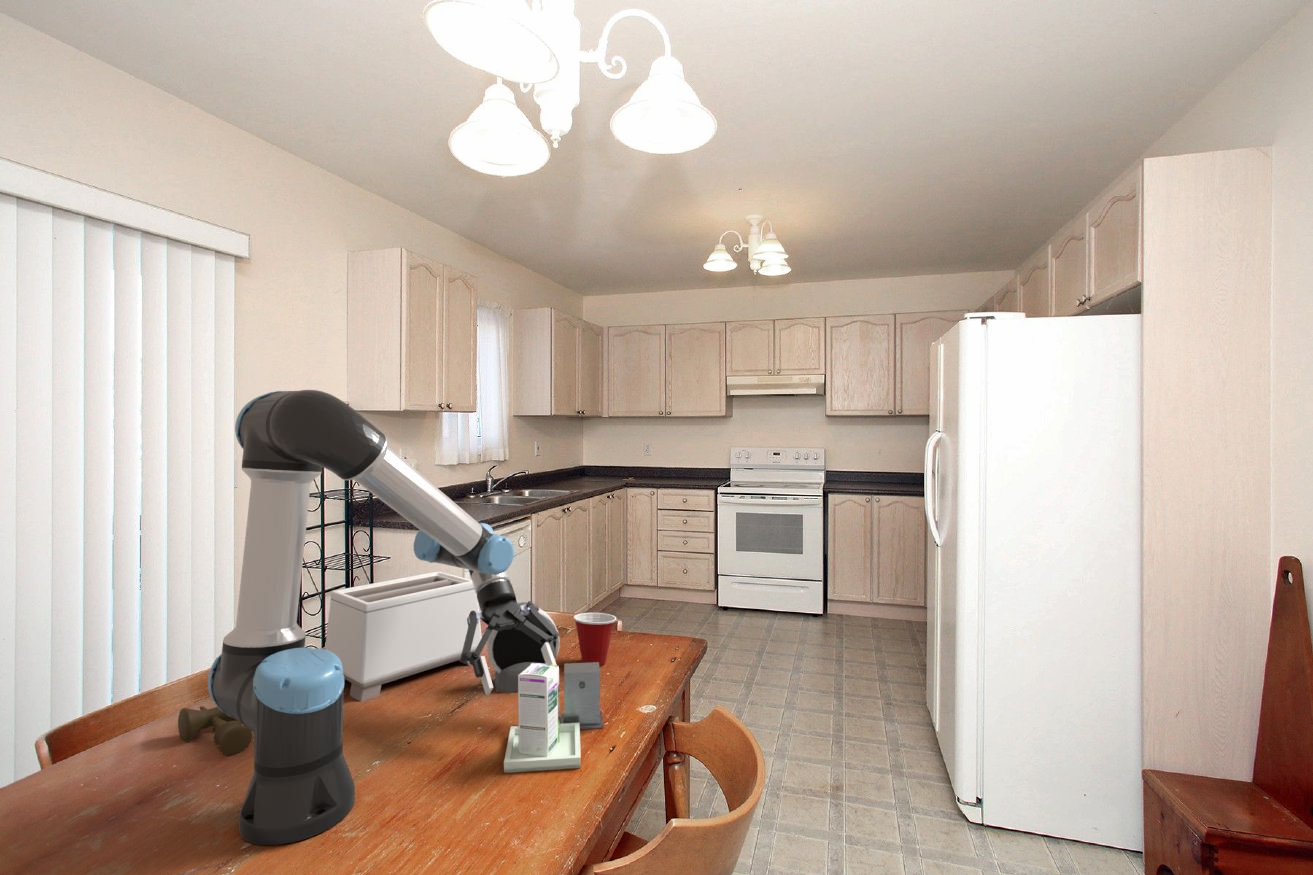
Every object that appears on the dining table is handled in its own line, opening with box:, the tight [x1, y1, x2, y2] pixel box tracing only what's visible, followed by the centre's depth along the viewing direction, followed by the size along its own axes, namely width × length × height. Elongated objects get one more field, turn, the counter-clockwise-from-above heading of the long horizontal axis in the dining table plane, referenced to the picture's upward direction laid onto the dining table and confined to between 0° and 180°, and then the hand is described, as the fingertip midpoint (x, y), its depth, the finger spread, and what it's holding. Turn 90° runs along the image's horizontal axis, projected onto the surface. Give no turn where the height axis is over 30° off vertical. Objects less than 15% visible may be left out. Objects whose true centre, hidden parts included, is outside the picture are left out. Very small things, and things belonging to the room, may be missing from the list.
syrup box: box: [517, 663, 560, 757], centre depth 112 cm, size 6×6×14 cm
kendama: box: [177, 705, 253, 757], centre depth 117 cm, size 6×10×20 cm
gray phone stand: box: [559, 662, 604, 730], centre depth 124 cm, size 8×6×11 cm
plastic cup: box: [573, 612, 617, 668], centre depth 156 cm, size 11×11×12 cm
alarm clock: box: [486, 601, 561, 693], centre depth 143 cm, size 16×10×18 cm, turn 109°
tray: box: [503, 723, 582, 774], centre depth 113 cm, size 13×13×2 cm
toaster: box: [324, 570, 483, 702], centre depth 152 cm, size 19×34×21 cm, turn 141°
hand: (523, 683), depth 119 cm, fingers open, 13 cm apart
